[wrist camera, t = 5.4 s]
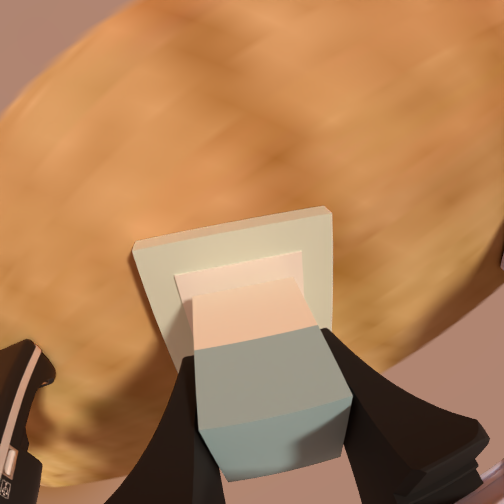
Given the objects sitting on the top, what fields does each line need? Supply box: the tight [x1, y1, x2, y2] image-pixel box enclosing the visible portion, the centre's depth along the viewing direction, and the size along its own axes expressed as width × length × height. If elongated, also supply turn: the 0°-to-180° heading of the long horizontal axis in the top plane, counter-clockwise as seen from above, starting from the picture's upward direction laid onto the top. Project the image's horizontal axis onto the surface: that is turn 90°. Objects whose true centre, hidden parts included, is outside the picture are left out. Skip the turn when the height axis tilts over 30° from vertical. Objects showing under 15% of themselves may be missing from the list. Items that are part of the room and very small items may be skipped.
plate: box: [132, 206, 333, 373], centre depth 15 cm, size 8×8×1 cm
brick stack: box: [192, 277, 353, 482], centre depth 11 cm, size 4×4×6 cm
